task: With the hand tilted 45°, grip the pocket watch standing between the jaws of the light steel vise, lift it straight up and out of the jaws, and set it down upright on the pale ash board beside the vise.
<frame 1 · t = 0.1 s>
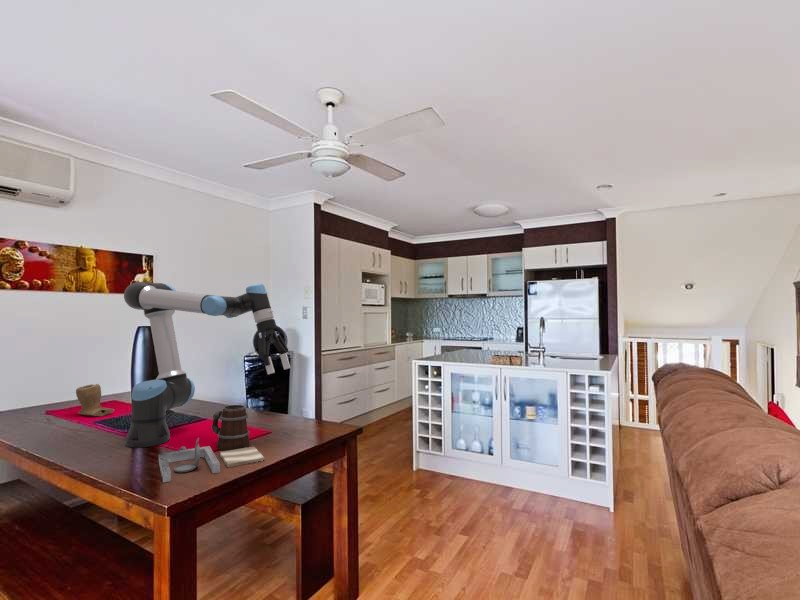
hand: (279, 371, 172), 28 cm above the table, tool tilted 20°, fingers open, 13 cm apart
mug: (228, 446, 164), on the table
tan upright piece: (92, 415, 208), on the table
pocket watch: (189, 469, 139), resting in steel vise
ash board: (241, 458, 150), on the table
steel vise: (189, 469, 139), on the table
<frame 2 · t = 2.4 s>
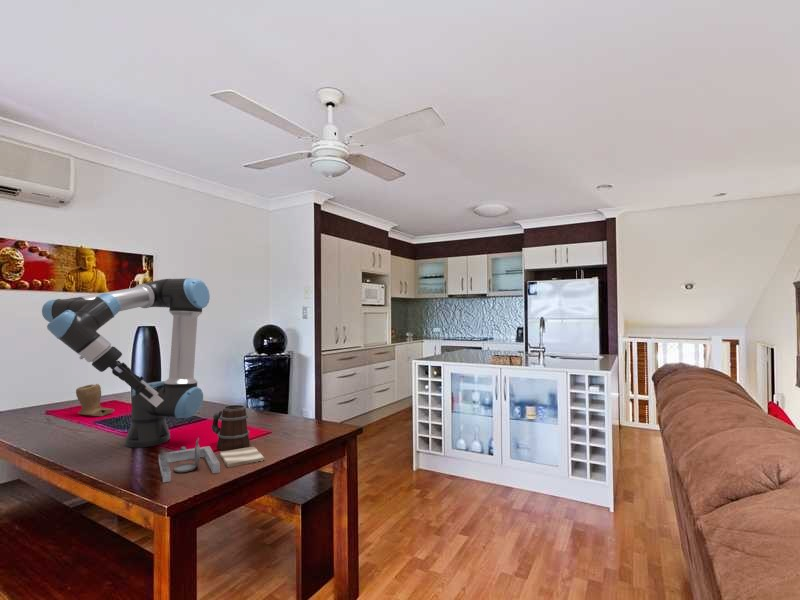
hand: (157, 399, 135), 24 cm above the table, tool tilted 45°, fingers open, 13 cm apart
nothing on the table moved.
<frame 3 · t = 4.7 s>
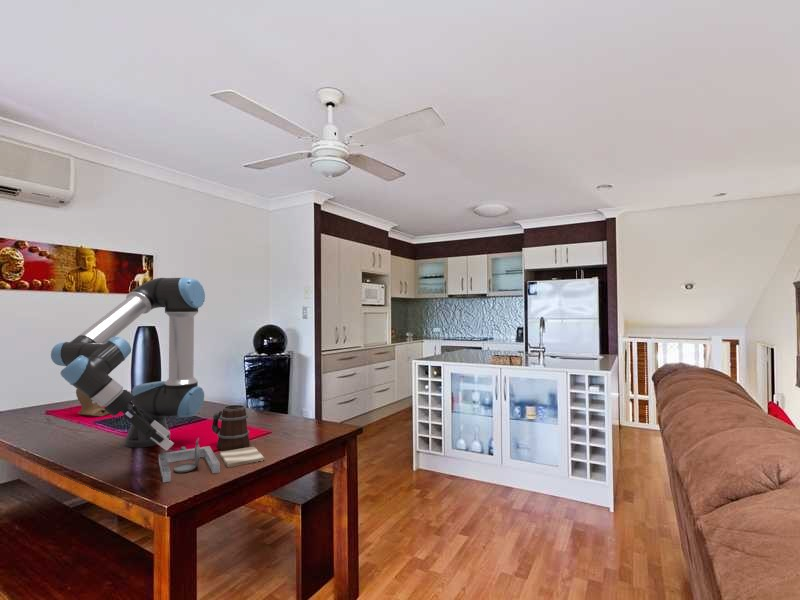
hand: (168, 441, 135), 10 cm above the table, tool tilted 45°, fingers open, 13 cm apart
nothing on the table moved.
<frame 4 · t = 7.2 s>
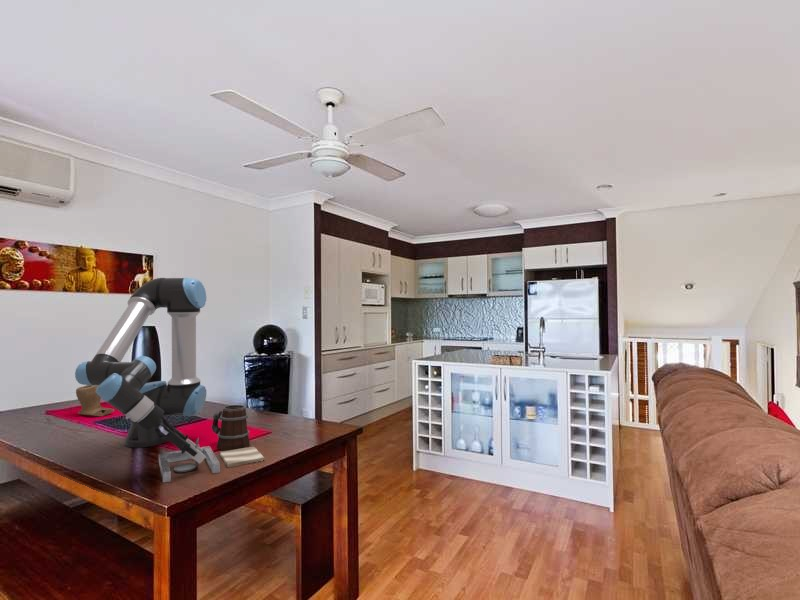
hand: (201, 456, 141), 3 cm above the table, tool tilted 45°, fingers closed on pocket watch, 7 cm apart
pocket watch: (188, 469, 139), resting in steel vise, touching gripper
everything else where it was.
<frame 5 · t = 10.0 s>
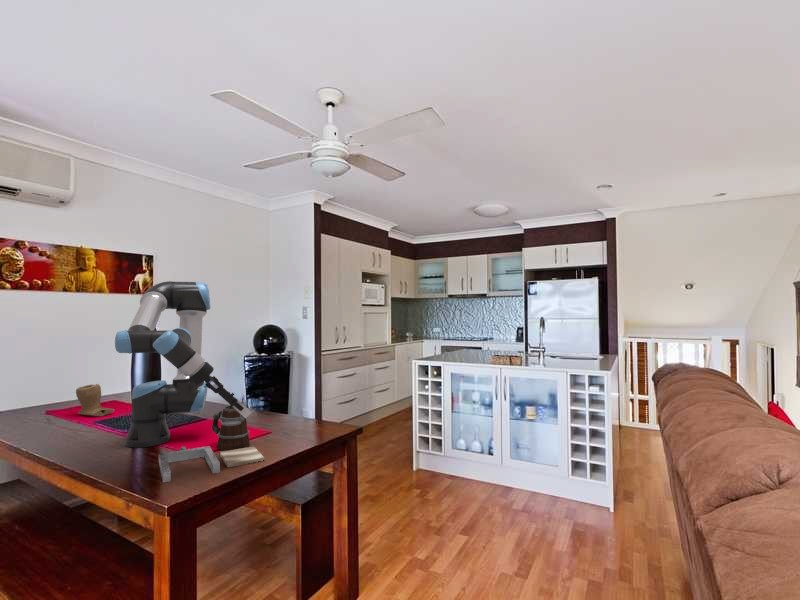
hand: (246, 413, 149), 16 cm above the table, tool tilted 45°, fingers closed on pocket watch, 7 cm apart
pocket watch: (235, 424, 147), point 13 cm above the table, touching gripper
everything else where it was.
when the fingers open (6 cm above the table, at t = 12.7 s): pocket watch stays where it is, resting on ash board.
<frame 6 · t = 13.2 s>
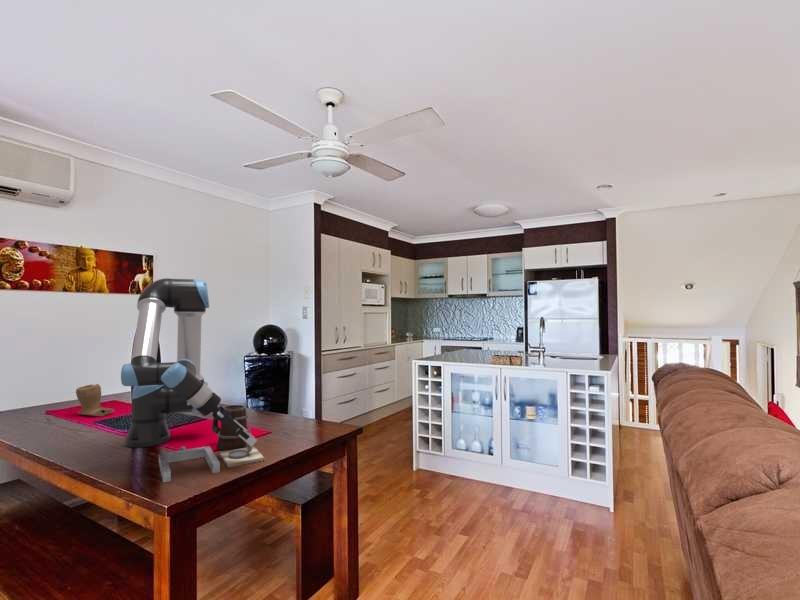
hand: (249, 438, 151), 7 cm above the table, tool tilted 45°, fingers open, 13 cm apart
pocket watch: (242, 456, 149), point 1 cm above the table, touching ash board
everything else where it was.
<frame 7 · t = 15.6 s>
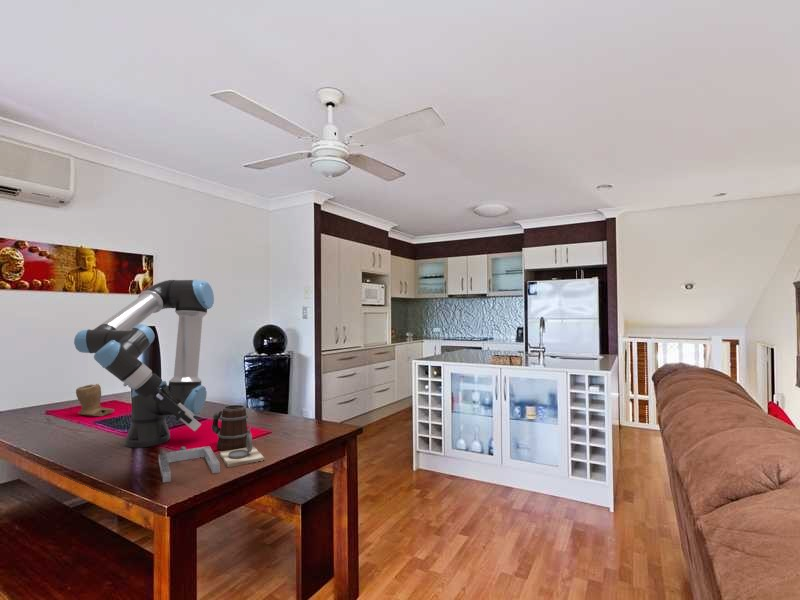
hand: (194, 422, 142), 15 cm above the table, tool tilted 45°, fingers open, 13 cm apart
nothing on the table moved.
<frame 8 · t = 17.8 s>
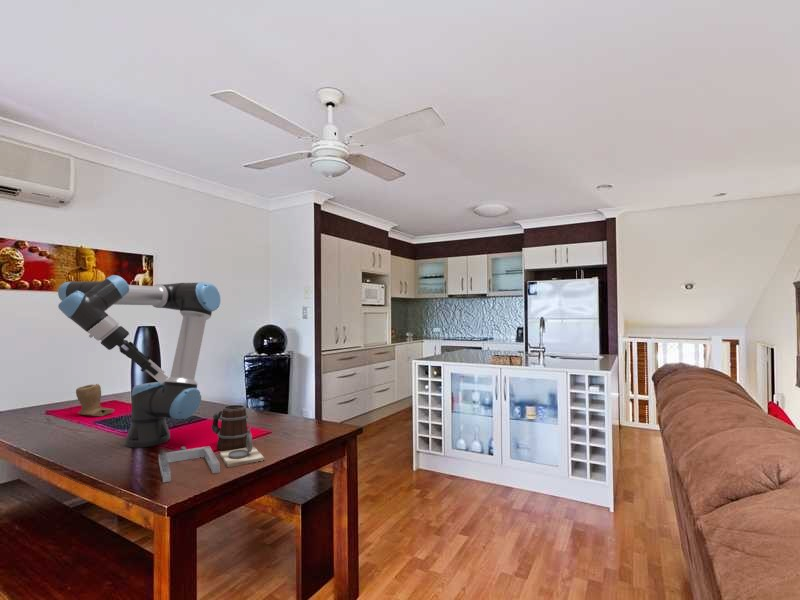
hand: (163, 377, 141), 30 cm above the table, tool tilted 45°, fingers open, 13 cm apart
nothing on the table moved.
at the end: pocket watch inside the target area on the ash board (0.9 cm from its centre), point 1.0 cm above the ash board's base; pocket watch tilted 0°; the gripper is holding nothing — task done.
